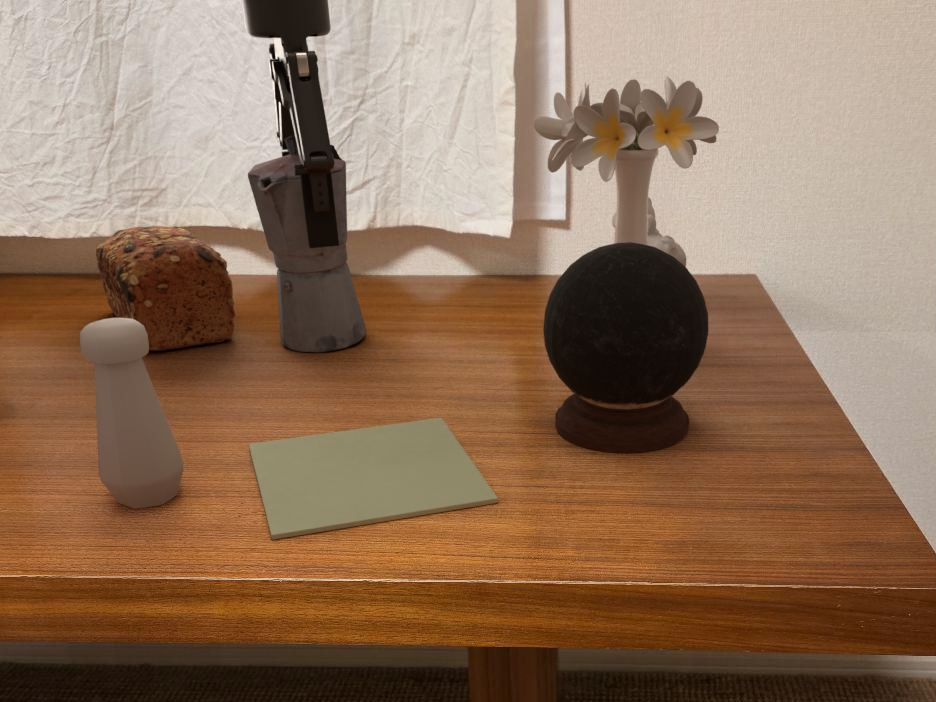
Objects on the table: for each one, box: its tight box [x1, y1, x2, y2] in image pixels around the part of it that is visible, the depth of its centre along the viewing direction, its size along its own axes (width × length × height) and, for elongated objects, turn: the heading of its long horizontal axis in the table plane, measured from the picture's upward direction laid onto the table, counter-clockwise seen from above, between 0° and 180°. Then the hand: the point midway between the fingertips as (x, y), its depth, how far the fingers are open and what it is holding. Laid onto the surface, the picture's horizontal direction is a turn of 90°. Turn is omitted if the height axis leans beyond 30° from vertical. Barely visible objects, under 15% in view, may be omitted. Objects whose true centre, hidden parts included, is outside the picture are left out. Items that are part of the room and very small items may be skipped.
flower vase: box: [533, 76, 720, 245], centre depth 97 cm, size 13×18×25 cm
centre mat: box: [248, 417, 499, 541], centre depth 77 cm, size 16×16×1 cm
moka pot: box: [247, 136, 367, 353], centre depth 100 cm, size 10×15×20 cm, turn 166°
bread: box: [95, 225, 236, 351], centre depth 107 cm, size 19×11×10 cm, turn 30°
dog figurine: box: [611, 196, 687, 268], centre depth 116 cm, size 5×13×11 cm, turn 24°
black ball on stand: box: [542, 242, 710, 454], centre depth 81 cm, size 13×13×15 cm
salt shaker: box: [79, 317, 184, 510], centre depth 71 cm, size 6×6×13 cm
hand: (313, 231), depth 100 cm, fingers open, 13 cm apart
